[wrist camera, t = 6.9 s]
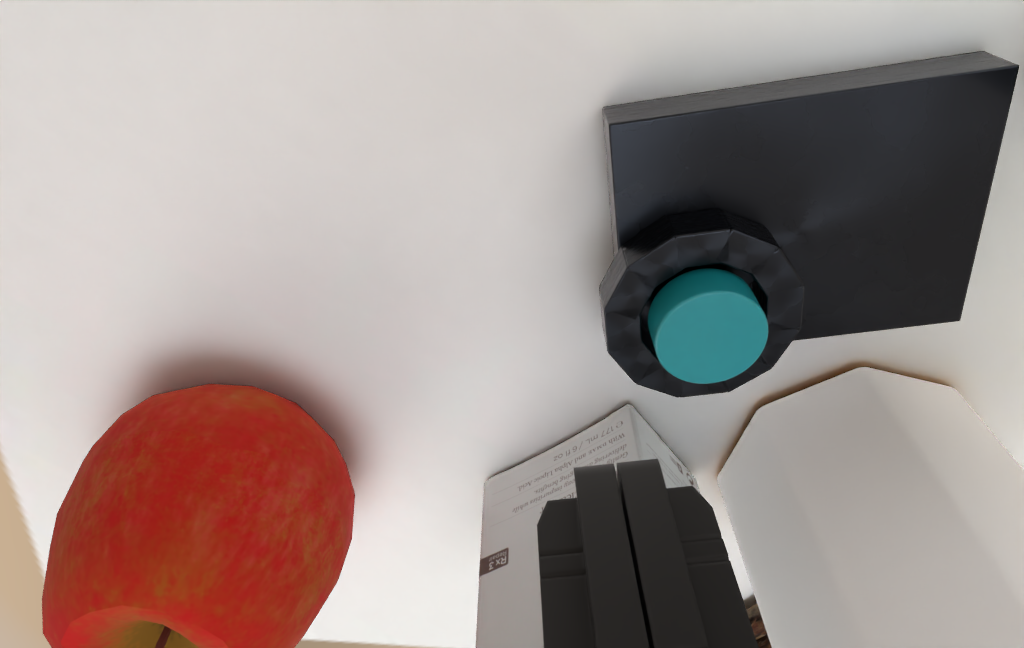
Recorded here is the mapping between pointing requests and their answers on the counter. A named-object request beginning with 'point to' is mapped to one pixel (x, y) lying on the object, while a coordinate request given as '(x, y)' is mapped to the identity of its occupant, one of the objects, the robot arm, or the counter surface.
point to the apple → (200, 526)
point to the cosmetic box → (518, 507)
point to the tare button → (707, 326)
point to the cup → (879, 518)
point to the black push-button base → (805, 201)
